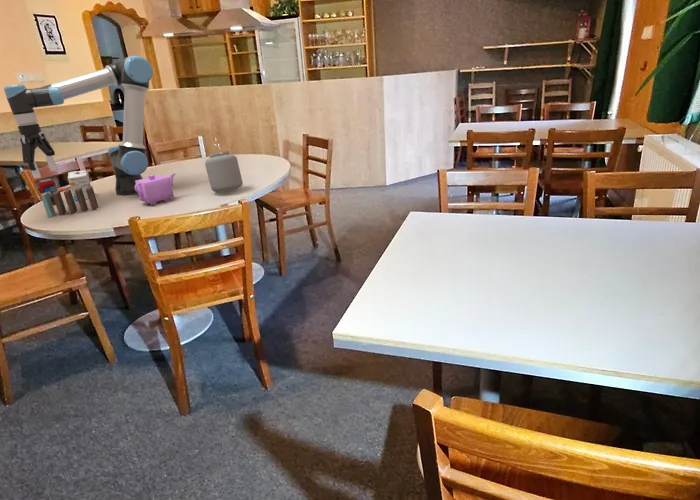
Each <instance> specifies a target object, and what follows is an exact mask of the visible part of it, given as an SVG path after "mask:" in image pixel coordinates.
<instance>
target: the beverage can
mask: <svg viewBox="0 0 700 500" xmlns="http://www.w3.org/2000/svg"><path fill="white" fill-rule="evenodd" d="M38 187H39V190H40V192H41V195H42V194H43V193H47V192H48V193H49V196H50V199H51V202H52V205H53V206H56V204H55V201H54V198H53V195H52V194H53V193H54V192H55V191H58V188H57V185H56V183H55V181H54V180H53V179H52V178H45V179H40V180H38Z"/></svg>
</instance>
